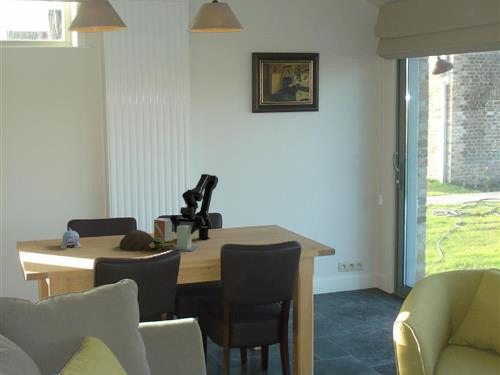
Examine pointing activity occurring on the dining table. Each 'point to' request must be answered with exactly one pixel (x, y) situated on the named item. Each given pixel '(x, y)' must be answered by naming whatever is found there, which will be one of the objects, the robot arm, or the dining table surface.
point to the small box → (163, 228)
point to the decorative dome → (136, 241)
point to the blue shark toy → (70, 239)
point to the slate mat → (185, 249)
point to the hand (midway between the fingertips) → (183, 233)
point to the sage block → (184, 236)
